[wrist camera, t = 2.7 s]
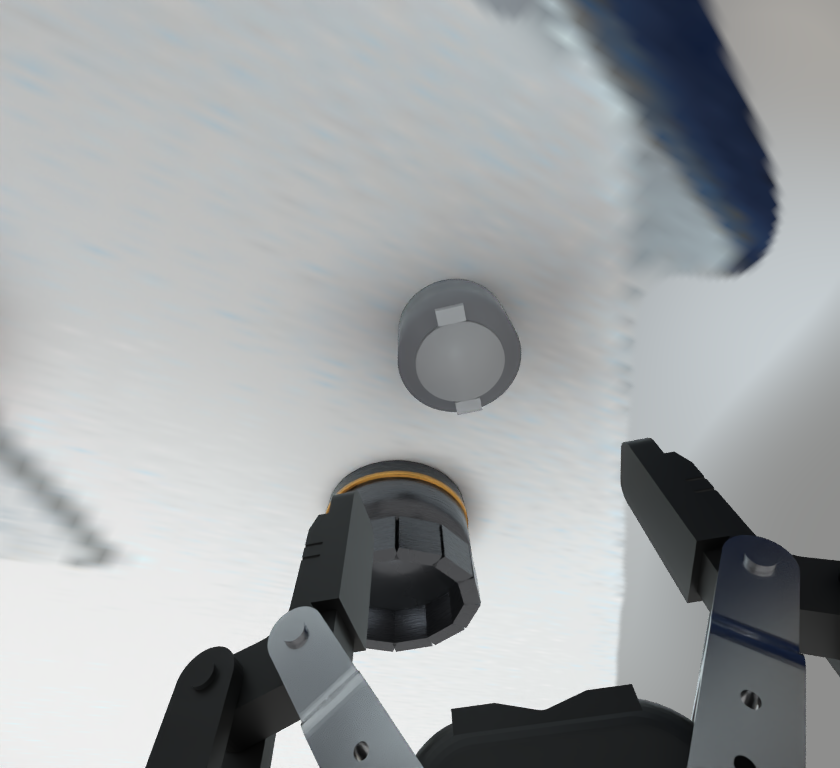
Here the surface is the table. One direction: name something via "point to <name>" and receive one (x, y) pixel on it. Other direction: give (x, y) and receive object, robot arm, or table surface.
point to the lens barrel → (415, 555)
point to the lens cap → (457, 347)
